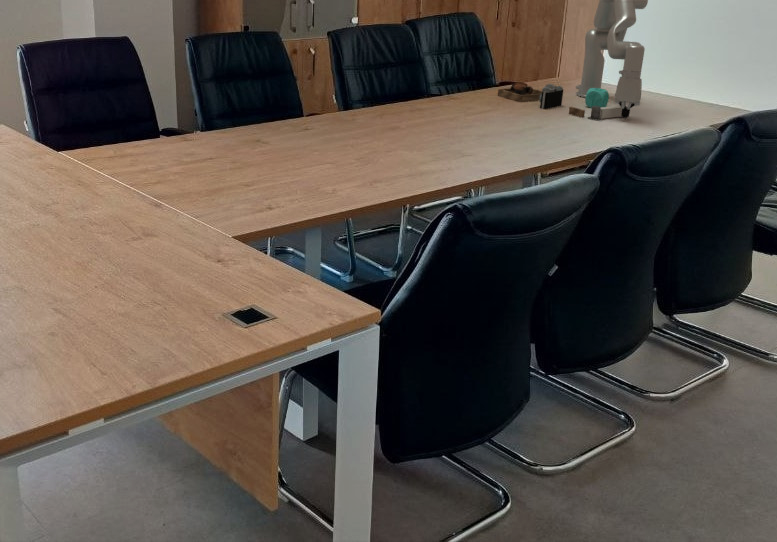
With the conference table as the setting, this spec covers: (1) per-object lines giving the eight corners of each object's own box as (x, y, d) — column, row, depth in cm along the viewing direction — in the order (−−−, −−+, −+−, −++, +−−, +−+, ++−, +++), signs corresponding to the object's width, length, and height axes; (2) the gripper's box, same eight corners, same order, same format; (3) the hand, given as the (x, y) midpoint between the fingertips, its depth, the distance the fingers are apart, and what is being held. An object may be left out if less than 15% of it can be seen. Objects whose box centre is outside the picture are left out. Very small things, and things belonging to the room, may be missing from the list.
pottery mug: (505, 98, 423) (506, 82, 424) (514, 105, 430) (516, 89, 432) (528, 96, 416) (530, 79, 417) (537, 103, 423) (539, 86, 425)
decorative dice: (584, 107, 413) (586, 89, 410) (590, 104, 419) (593, 87, 416) (600, 109, 409) (603, 92, 406) (607, 107, 415) (609, 89, 412)
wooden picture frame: (497, 95, 427) (498, 89, 426) (526, 93, 436) (527, 87, 435) (520, 102, 414) (520, 95, 413) (549, 99, 424) (550, 93, 423)
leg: (602, 118, 389) (603, 109, 387) (596, 116, 391) (597, 107, 390) (627, 116, 397) (629, 107, 396) (621, 114, 400) (623, 105, 398)
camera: (550, 103, 417) (553, 81, 413) (563, 105, 413) (566, 83, 409) (532, 106, 406) (535, 84, 403) (545, 109, 402) (548, 86, 399)
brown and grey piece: (568, 113, 396) (570, 101, 394) (579, 112, 400) (581, 100, 398) (593, 121, 385) (595, 108, 383) (604, 119, 388) (606, 107, 386)
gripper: (611, 73, 382) (605, 116, 389) (647, 78, 376) (640, 122, 383) (615, 71, 388) (609, 114, 395) (651, 75, 382) (644, 119, 389)
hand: (624, 117), depth 389 cm, fingers closed
